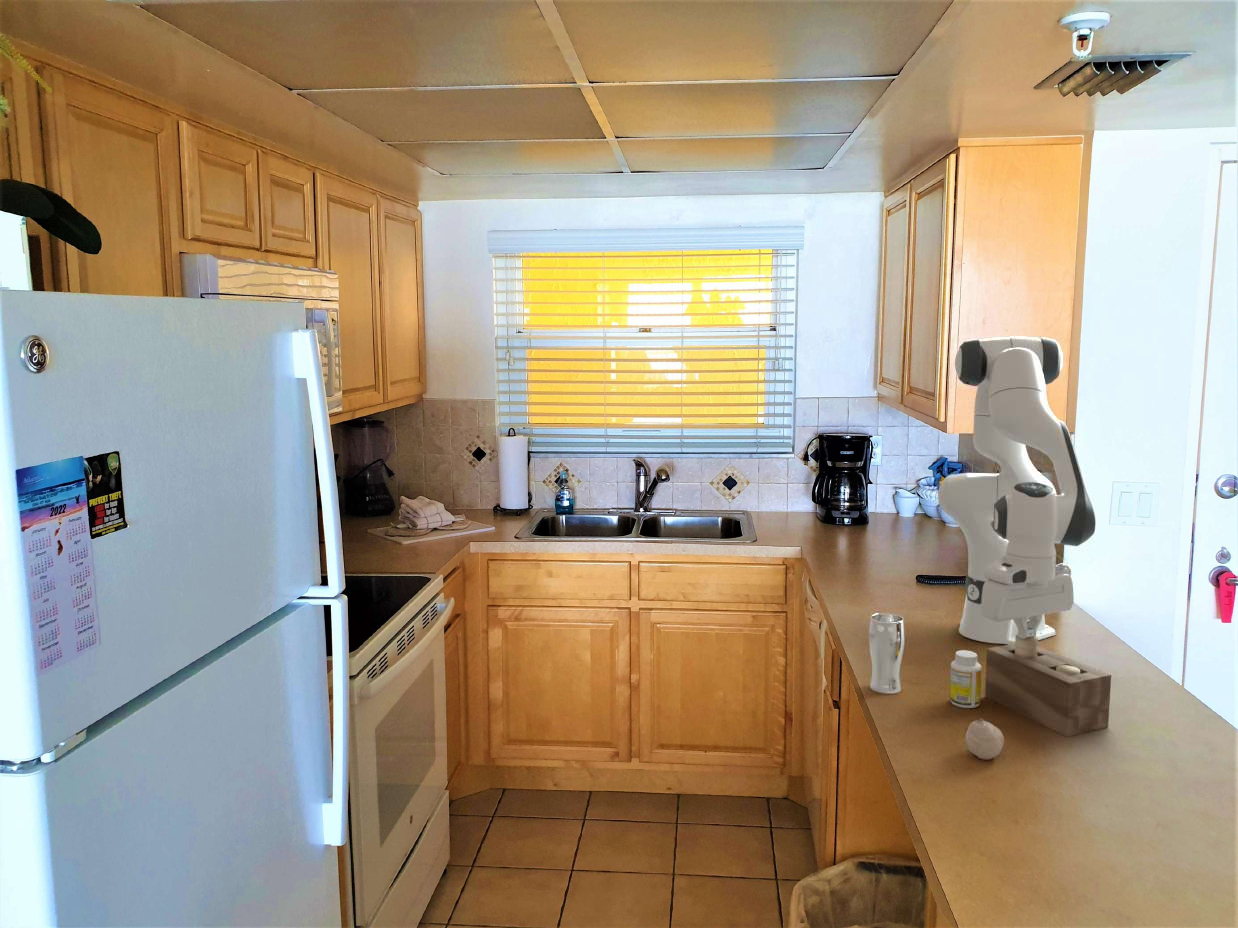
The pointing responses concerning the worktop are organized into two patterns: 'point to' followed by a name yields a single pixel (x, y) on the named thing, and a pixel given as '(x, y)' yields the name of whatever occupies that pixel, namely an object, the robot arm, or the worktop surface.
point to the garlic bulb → (984, 739)
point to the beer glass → (886, 651)
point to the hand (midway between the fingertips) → (1026, 637)
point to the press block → (1048, 690)
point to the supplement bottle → (965, 680)
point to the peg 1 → (1026, 647)
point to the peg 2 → (1068, 670)
